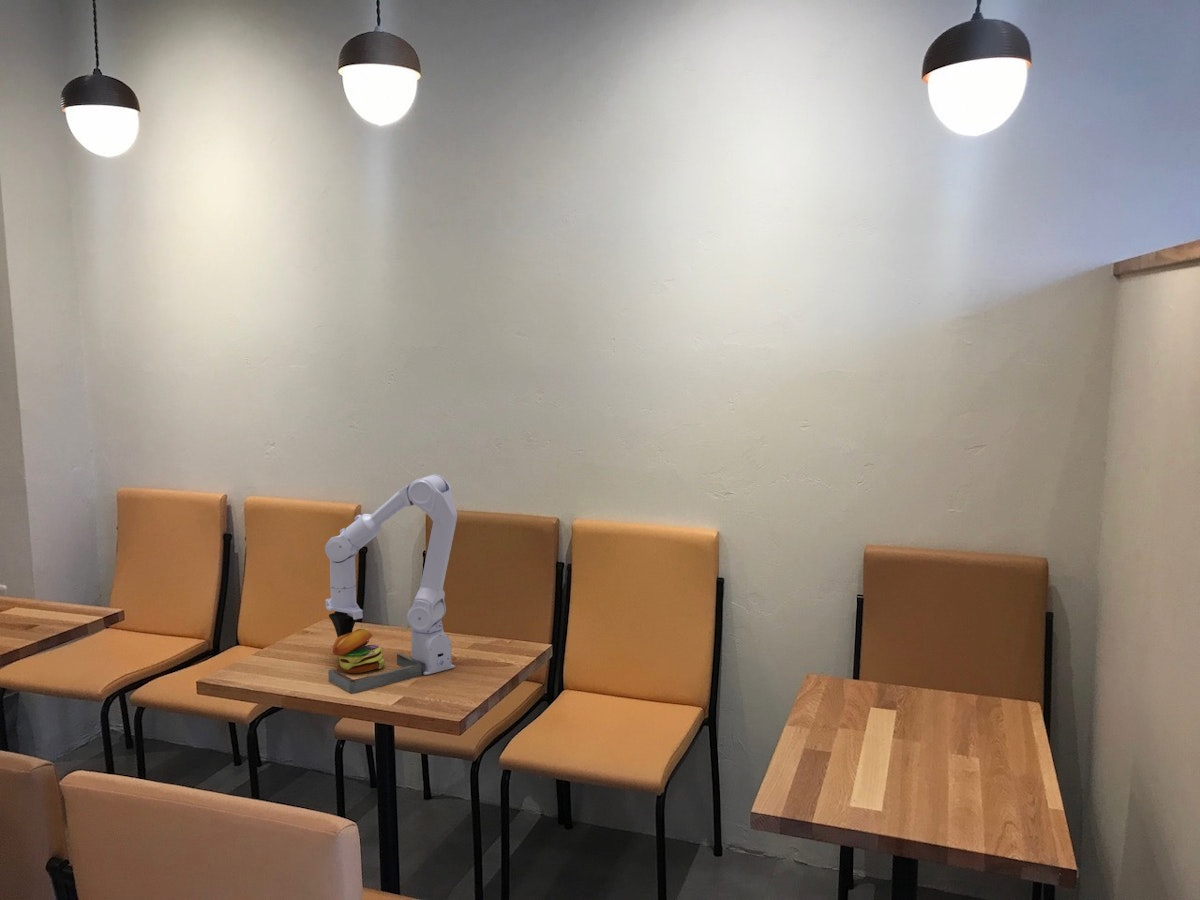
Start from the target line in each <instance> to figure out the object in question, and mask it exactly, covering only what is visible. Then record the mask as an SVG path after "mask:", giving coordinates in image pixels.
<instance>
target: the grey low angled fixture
mask: <svg viewBox="0 0 1200 900" xmlns="http://www.w3.org/2000/svg"><path fill="white" fill-rule="evenodd" d="M396 665H398V666H400V667H399V668H396V669H390V670H387V671H384V672H379V673H375V674H370V675H367V676H363V677H359V678H356V679H353V678H351V677H349V676H347V675H345V674H343V673H342V672H339V671H338V670H335V669H333V668H330V669H328V671H327V672H328V673H327V675H328V676H327V677H328V682H330V683H331V684H333V685H335V686H337V687H339V689H343V690H344V691H346V692H348V693H350V694H351V695H352V694H355V693H360V692H363V691H367V690H371V689H374V688H375V689H376V688H378V687H382V686H386V685H390V684H394V683H398V682H401V681H405V680H409V679H413V678H417V677H421V676H425V675H424V674H423V672H425V664H424V663H422V662H420V661H418V660H415V659H413V658H412V657H411V656H408V655H406V654H404V653H402V652H398V653H396Z"/></svg>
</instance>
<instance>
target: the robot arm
mask: <svg viewBox="0 0 1200 900" xmlns="http://www.w3.org/2000/svg"><path fill="white" fill-rule="evenodd" d="M454 501H455V500H454V498H453V495H452V486H451V485H450V484H449V483H448V481H447V480H446V479H445V478H444V477H443V476H441V475H439V474H437V473H432V474H431V473H430V474H428V475H426V476H425V477H421V478H416V479H415V480H413V481H412V482H411V483H410V484H407V485H406V486H404V487H402V488H401V489H399V490H398V491H396V492H395V494H393V495H392V496H391V497H390V498H389V499H388V500H387V501H385V502H384V503H383V504H382V505H381V506H379V508H377V510H376V509H375V511H374V512H373V513H363V514H362V515H361V514H358V515H356V516H355V517H354V518H353V520H354V521H353V522H352V523H350V524H349V525H348V526H347V527H346V528H345V527H343V528H342V529H340V530H339V535H337V536H336V535H335V536H332V537H330V538H329V540H328V541H327V542H326V544H325V547H324V550H325V555H326V556H327V558H328V559H329V580H330V581H329V582H330V583H329V587H330V598H326V599H325V601H324V602H325V610H326V611H329V612H332V613H329V614H328V619H330V621H331V623H332V624H333V628H334V630H335V634H336V636H337V637H336V638H338V637H340V636H342V635H344V634H347V633H350V632H353V629H354V627H355V624H356V622H357V620H360V619H363V617H364V614H363V613H364V610H363V609H362V608H360V606H359V605H358V604H359V603H357V585H356V584H357V581H356V577H357V576H356V555H357V554H358V553H359V551H360V549H362V548H363V547H364V546H366V545H367V544H368V543H369V542H371V541H372V540H374V538H375V537H377V536H378V535H380V533H381V530H382V525H383V524H384V523H385V522H387V521H388V520H389V519H391V518H392V517H394V516H395V515H396V514H397V513H399V512H400V511H401V510H403V509H404V508H405V507H412V506H416V507H418V508H419V509H421V510H422V512H423V511H424V512H425V514H427V515H428V516H429V518H430V519H431V521H432V527H431V532H430V535H429V536H430V537H429V540H428V547H427V551H426V557H425V562H424V566H423V570H422V571H423V572H422V577H421V580H420V586H419V589H418V590H417V593H416V595H415V597H414V600H413V604H412V606H411V607H409V609H408V612H407V614H406V620H407V624H408V626H409V627H410V634H411V635H410V644H411V645H410V646H411V648H410V649H411V650H410V651H411V656H410V657H411V658H413V659H415V660H418V661H420V662H422V663H424V664H425V672H423V674H424V675H423V676H427V675H431V674H435V673H440V672H442V671H443V672H444V671H447V670H451V669H454V668H455V667H456V665H454V664H452V641H451V638H450V637H449V636H448V635H447V634H446V633H445V631H444V624H443V622H442V619H443V618H444V616H445V615H446V612H447V607H446V603H445V596H446V592H445V591H444V584H445V580H446V573H447V570H448V566H449V559H450V555H451V552H452V551H451V550H452V545H453V541H454V535H455V531H456V525H457V520H458V511H457V509H456V504H455V502H454ZM333 611H334V612H333Z"/></svg>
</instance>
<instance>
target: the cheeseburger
mask: <svg viewBox="0 0 1200 900" xmlns="http://www.w3.org/2000/svg"><path fill="white" fill-rule="evenodd" d="M372 637H373V634H372V633H371V632H370V631H369V630H367V629H365V628H358V629H357V630H354V631H352V632H350V633H347V634H344V635H342V636H340V637H336V639H335V640H334V642H333V647H332V654H333V655H334V656H337V657H338V659H339V666H340V667H341V669H342V670H343V671H344V672H346V673H348V674H360V673H365V672H366V673H367V672H369V671H373V670H377V669H378V670H381V669H383V667H384V665H385V659H384V654H383V648H381V646H379V645H378V644H369V642H370V639H371V638H372Z"/></svg>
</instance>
